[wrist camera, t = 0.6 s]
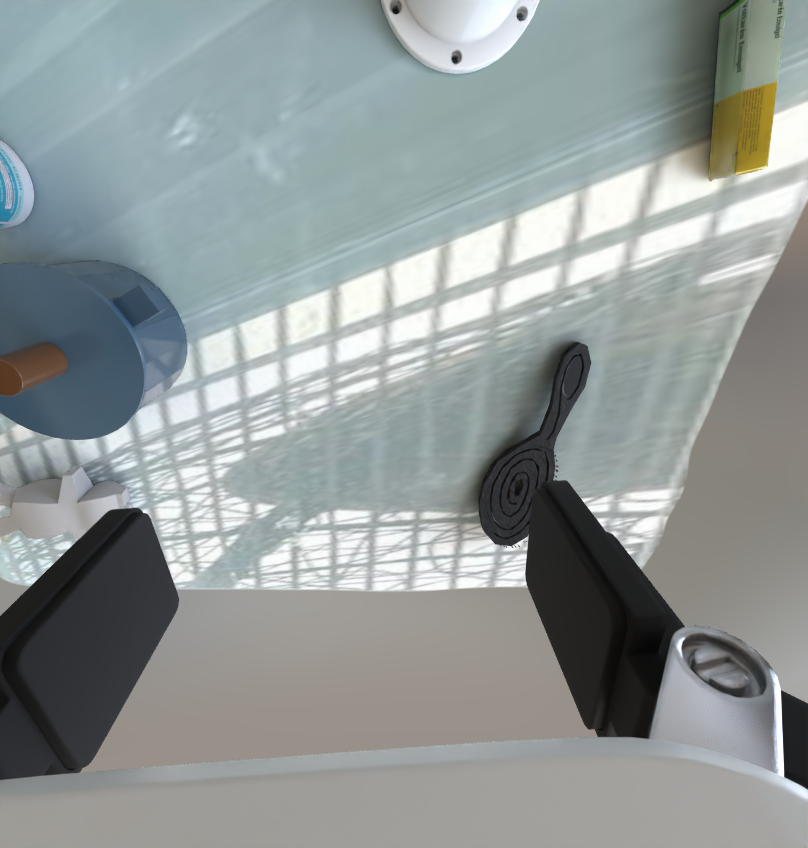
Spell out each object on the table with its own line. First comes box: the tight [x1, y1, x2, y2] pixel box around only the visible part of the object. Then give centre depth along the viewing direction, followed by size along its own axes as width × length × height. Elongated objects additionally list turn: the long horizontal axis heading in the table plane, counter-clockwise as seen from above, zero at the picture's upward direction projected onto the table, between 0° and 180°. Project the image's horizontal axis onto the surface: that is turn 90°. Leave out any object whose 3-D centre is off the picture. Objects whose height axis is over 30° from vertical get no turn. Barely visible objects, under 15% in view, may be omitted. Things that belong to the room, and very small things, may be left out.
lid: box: [0, 262, 147, 440], centre depth 31 cm, size 14×14×6 cm
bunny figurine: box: [0, 465, 133, 540], centre depth 47 cm, size 10×5×15 cm
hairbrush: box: [479, 343, 591, 548], centre depth 47 cm, size 8×4×25 cm
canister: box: [0, 260, 187, 414], centre depth 37 cm, size 14×19×8 cm
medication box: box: [709, 0, 787, 181], centre depth 33 cm, size 12×3×4 cm, turn 13°
